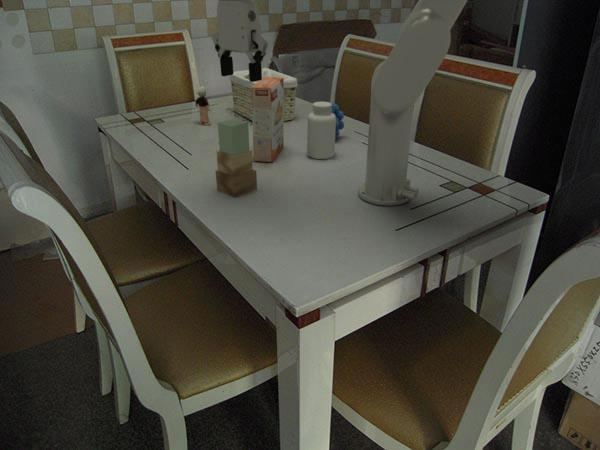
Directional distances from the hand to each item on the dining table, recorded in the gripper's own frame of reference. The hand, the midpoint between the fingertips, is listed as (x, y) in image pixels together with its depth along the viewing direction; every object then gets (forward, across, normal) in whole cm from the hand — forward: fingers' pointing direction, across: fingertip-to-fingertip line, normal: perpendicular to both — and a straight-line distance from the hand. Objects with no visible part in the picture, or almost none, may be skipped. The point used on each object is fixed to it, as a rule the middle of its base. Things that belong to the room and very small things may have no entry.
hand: (241, 78), depth 114 cm
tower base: (+27, +1, +3) cm, 27 cm away
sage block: (+17, +1, +3) cm, 17 cm away
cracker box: (+27, +14, -20) cm, 36 cm away
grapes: (+27, +9, -42) cm, 51 cm away
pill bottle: (+27, +2, -30) cm, 40 cm away
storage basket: (+27, +45, -47) cm, 70 cm away
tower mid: (+22, +1, +3) cm, 22 cm away
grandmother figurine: (+26, +52, -26) cm, 64 cm away
